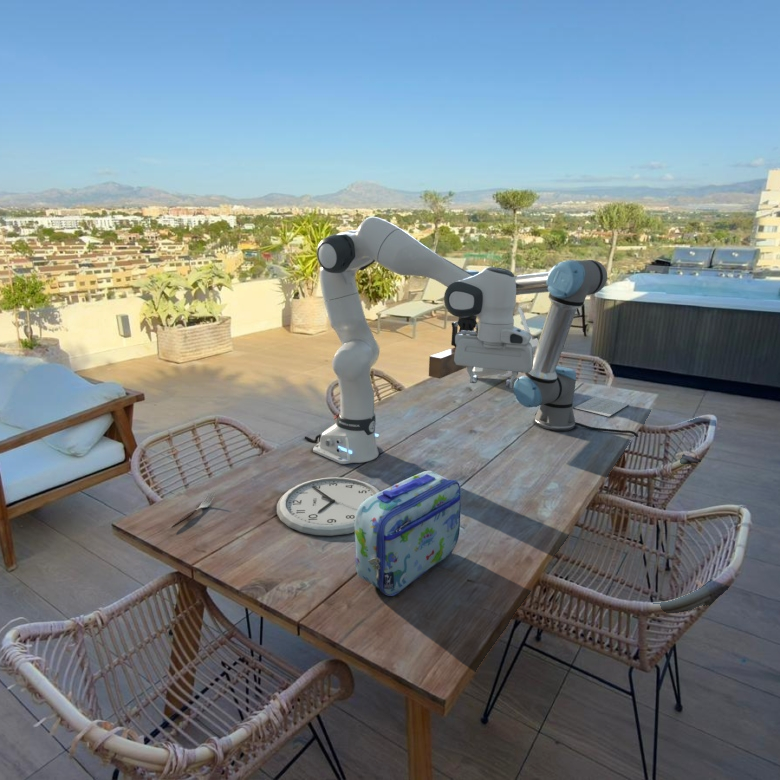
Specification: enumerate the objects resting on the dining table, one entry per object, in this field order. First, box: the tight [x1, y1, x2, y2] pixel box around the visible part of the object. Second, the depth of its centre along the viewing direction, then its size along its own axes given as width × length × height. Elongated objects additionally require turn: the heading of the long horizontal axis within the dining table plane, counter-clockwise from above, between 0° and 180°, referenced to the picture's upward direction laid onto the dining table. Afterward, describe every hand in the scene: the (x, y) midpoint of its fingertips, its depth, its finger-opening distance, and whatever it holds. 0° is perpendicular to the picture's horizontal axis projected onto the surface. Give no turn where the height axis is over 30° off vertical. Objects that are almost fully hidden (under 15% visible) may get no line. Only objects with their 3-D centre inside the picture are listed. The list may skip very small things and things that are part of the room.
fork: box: [171, 493, 217, 529], centre depth 137 cm, size 3×16×2 cm, turn 160°
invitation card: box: [573, 396, 629, 418], centre depth 226 cm, size 21×1×15 cm
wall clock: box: [276, 476, 382, 537], centre depth 142 cm, size 30×2×30 cm
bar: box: [428, 346, 467, 379], centre depth 213 cm, size 28×5×8 cm, turn 144°
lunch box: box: [354, 470, 461, 597], centre depth 113 cm, size 26×11×21 cm, turn 134°
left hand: (491, 384), depth 138 cm, fingers open, 8 cm apart
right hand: (464, 363), depth 222 cm, fingers closed on bar, 5 cm apart
